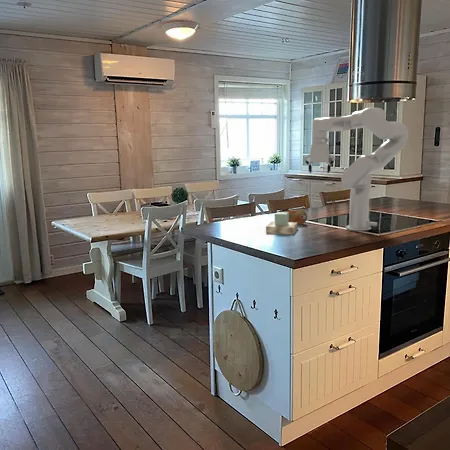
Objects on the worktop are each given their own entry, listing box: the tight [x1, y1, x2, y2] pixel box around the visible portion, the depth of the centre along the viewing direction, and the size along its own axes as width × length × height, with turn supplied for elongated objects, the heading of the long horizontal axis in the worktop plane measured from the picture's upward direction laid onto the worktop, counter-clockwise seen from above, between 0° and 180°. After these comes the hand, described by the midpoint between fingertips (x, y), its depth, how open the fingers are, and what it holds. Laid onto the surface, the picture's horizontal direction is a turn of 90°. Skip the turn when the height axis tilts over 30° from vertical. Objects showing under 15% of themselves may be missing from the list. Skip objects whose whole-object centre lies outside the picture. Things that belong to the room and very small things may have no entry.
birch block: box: [265, 221, 299, 235], centre depth 244 cm, size 14×14×4 cm
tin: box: [284, 209, 308, 226], centre depth 260 cm, size 15×3×8 cm, turn 105°
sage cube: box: [274, 211, 289, 226], centre depth 243 cm, size 6×6×6 cm
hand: (319, 172), depth 258 cm, fingers open, 9 cm apart
